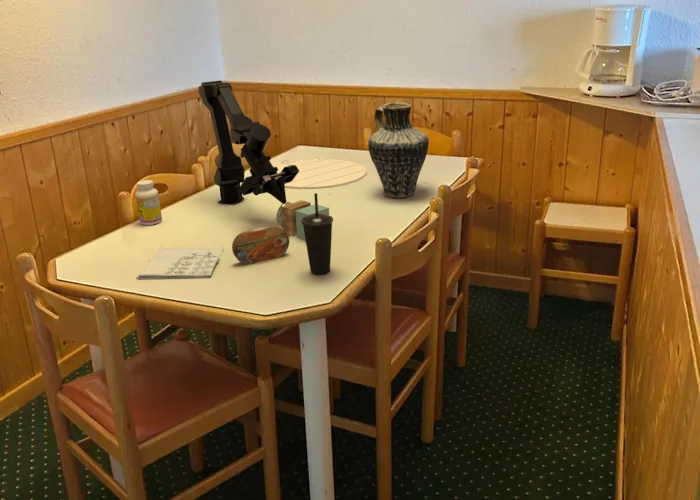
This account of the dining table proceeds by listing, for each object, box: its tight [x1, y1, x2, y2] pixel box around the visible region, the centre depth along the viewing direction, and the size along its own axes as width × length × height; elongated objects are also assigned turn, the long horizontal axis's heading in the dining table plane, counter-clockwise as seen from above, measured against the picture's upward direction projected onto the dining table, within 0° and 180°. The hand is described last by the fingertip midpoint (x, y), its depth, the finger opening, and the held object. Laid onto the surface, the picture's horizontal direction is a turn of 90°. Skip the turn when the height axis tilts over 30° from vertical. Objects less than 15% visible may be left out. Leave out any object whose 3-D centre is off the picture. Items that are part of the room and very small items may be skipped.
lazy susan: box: [273, 156, 367, 190], centre depth 247 cm, size 40×39×3 cm
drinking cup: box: [301, 193, 334, 276], centre depth 159 cm, size 8×8×20 cm
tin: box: [231, 225, 290, 265], centre depth 170 cm, size 15×3×8 cm, turn 117°
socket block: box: [295, 203, 330, 242], centre depth 184 cm, size 6×8×8 cm
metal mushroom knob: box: [276, 201, 296, 228], centre depth 188 cm, size 11×7×7 cm
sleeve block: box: [281, 200, 311, 237], centre depth 189 cm, size 4×8×8 cm, turn 136°
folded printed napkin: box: [135, 246, 225, 280], centre depth 171 cm, size 19×20×2 cm
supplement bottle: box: [135, 179, 163, 226], centre depth 200 cm, size 7×7×13 cm
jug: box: [367, 101, 429, 198], centre depth 214 cm, size 21×19×30 cm
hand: (284, 202), depth 190 cm, fingers closed, pressing on metal mushroom knob
